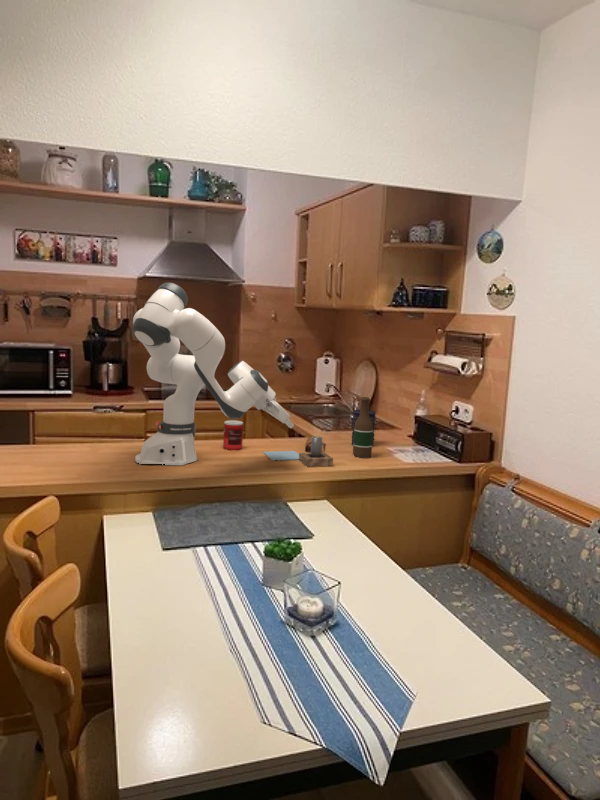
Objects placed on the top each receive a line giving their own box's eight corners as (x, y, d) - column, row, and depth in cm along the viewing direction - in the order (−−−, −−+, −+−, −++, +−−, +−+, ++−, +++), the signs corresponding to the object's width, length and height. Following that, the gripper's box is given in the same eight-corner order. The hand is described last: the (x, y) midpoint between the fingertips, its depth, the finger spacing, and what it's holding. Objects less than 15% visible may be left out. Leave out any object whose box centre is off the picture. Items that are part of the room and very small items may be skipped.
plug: (312, 464, 229) (313, 435, 227) (308, 462, 233) (310, 433, 231) (322, 464, 230) (323, 435, 229) (318, 462, 234) (320, 433, 232)
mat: (271, 460, 232) (271, 459, 232) (263, 452, 245) (263, 451, 244) (304, 459, 236) (304, 458, 236) (294, 452, 249) (294, 450, 248)
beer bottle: (368, 459, 242) (372, 399, 239) (350, 457, 245) (353, 397, 241) (373, 455, 249) (377, 397, 246) (355, 453, 252) (358, 395, 249)
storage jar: (377, 447, 266) (379, 413, 264) (357, 447, 262) (359, 413, 260) (367, 442, 275) (369, 409, 273) (347, 442, 272) (349, 409, 269)
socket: (307, 467, 225) (307, 459, 225) (298, 460, 235) (299, 452, 234) (332, 466, 228) (333, 458, 228) (323, 459, 238) (323, 452, 237)
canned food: (231, 445, 255) (232, 419, 254) (246, 448, 251) (247, 422, 249) (219, 448, 249) (219, 421, 247) (233, 451, 244) (234, 424, 243)
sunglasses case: (326, 453, 249) (318, 438, 249) (310, 460, 250) (303, 446, 249) (326, 444, 267) (319, 430, 266) (311, 451, 268) (304, 438, 267)
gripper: (277, 395, 212) (302, 423, 216) (263, 388, 231) (286, 413, 235) (264, 408, 211) (290, 436, 215) (251, 400, 230) (275, 425, 235)
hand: (288, 424), depth 225 cm, fingers open, 8 cm apart
